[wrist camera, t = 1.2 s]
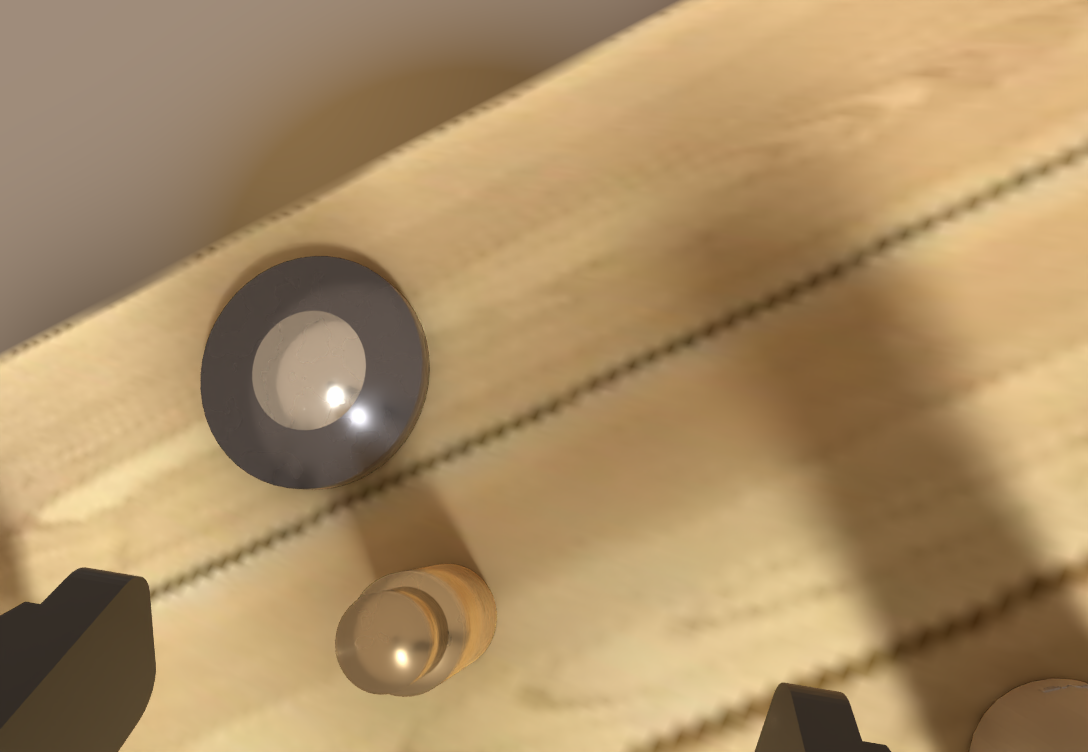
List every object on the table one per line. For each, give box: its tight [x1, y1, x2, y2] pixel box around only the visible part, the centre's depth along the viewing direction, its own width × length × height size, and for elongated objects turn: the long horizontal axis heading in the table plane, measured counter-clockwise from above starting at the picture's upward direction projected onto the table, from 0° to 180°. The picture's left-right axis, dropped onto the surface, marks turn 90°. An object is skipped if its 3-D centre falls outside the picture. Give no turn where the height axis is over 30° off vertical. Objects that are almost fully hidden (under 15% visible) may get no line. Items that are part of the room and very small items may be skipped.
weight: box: [335, 564, 497, 697], centre depth 42 cm, size 6×6×10 cm
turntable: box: [201, 256, 430, 490], centre depth 50 cm, size 14×14×2 cm
